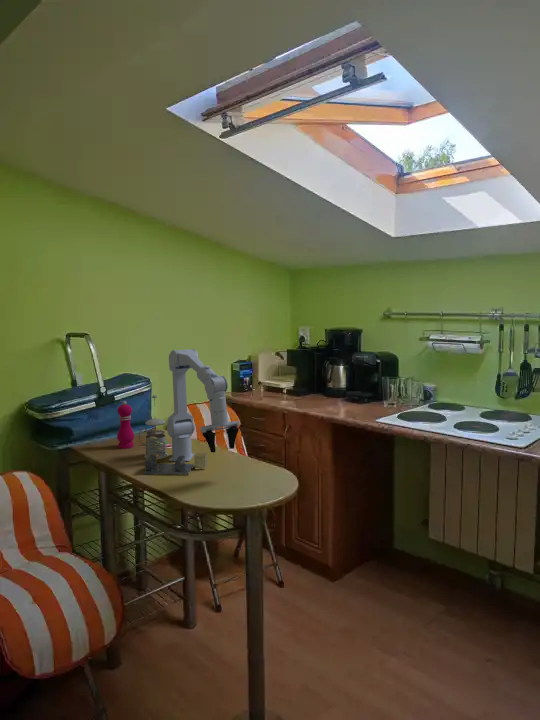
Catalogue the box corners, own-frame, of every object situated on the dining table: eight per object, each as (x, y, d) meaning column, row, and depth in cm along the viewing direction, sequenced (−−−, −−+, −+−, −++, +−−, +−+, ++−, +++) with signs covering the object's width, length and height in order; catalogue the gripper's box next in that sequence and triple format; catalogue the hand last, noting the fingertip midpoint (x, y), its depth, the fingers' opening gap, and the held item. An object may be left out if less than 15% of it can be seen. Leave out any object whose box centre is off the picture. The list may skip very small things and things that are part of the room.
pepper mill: (116, 445, 231) (114, 400, 229) (133, 443, 234) (131, 399, 232) (118, 449, 225) (117, 403, 223) (136, 447, 228) (134, 401, 226)
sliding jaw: (154, 460, 206) (154, 451, 205) (159, 460, 205) (159, 451, 205) (145, 470, 194) (145, 460, 194) (150, 470, 194) (150, 460, 194)
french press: (170, 457, 213) (169, 396, 210) (141, 461, 209) (139, 398, 206) (166, 451, 222) (164, 392, 220) (137, 454, 218) (135, 394, 215)
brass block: (196, 466, 202) (196, 453, 202) (207, 466, 202) (207, 453, 202) (194, 469, 198) (194, 456, 198) (205, 469, 198) (205, 456, 198)
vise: (152, 465, 203) (151, 454, 202) (193, 466, 202) (193, 454, 201) (144, 474, 193) (143, 462, 192) (187, 475, 192) (187, 462, 191)
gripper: (206, 414, 178) (210, 454, 178) (242, 408, 187) (246, 447, 186) (196, 414, 184) (200, 453, 184) (231, 408, 192) (235, 446, 192)
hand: (222, 450), depth 185 cm, fingers open, 7 cm apart
